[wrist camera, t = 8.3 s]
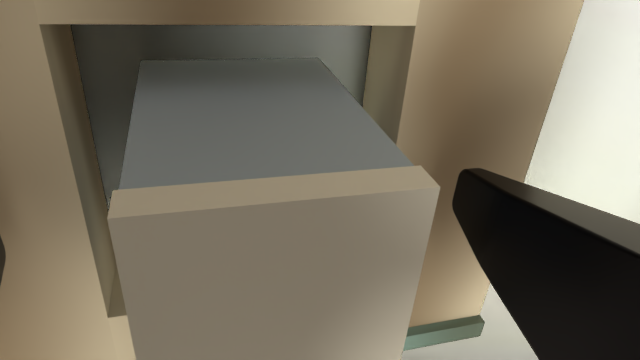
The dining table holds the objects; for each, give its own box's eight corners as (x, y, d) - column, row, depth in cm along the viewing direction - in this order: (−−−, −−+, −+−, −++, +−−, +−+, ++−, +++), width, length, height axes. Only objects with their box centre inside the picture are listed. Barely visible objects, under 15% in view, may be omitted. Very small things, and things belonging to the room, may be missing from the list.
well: (547, -124, 10) (640, -128, 8) (441, 280, 16) (480, 335, 14) (-262, -208, 7) (-450, -253, 5) (-15, 350, 13) (-49, 437, 11)
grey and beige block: (320, 55, 11) (440, 186, 6) (311, 199, 13) (395, 384, 8) (138, 57, 10) (106, 218, 5) (159, 213, 12) (151, 434, 7)
